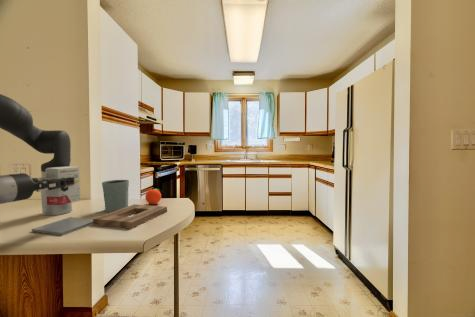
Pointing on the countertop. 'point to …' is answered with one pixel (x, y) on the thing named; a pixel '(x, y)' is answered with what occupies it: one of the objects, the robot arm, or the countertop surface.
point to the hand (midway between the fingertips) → (66, 180)
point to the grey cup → (115, 194)
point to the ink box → (64, 193)
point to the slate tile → (64, 226)
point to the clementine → (153, 196)
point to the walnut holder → (121, 219)
